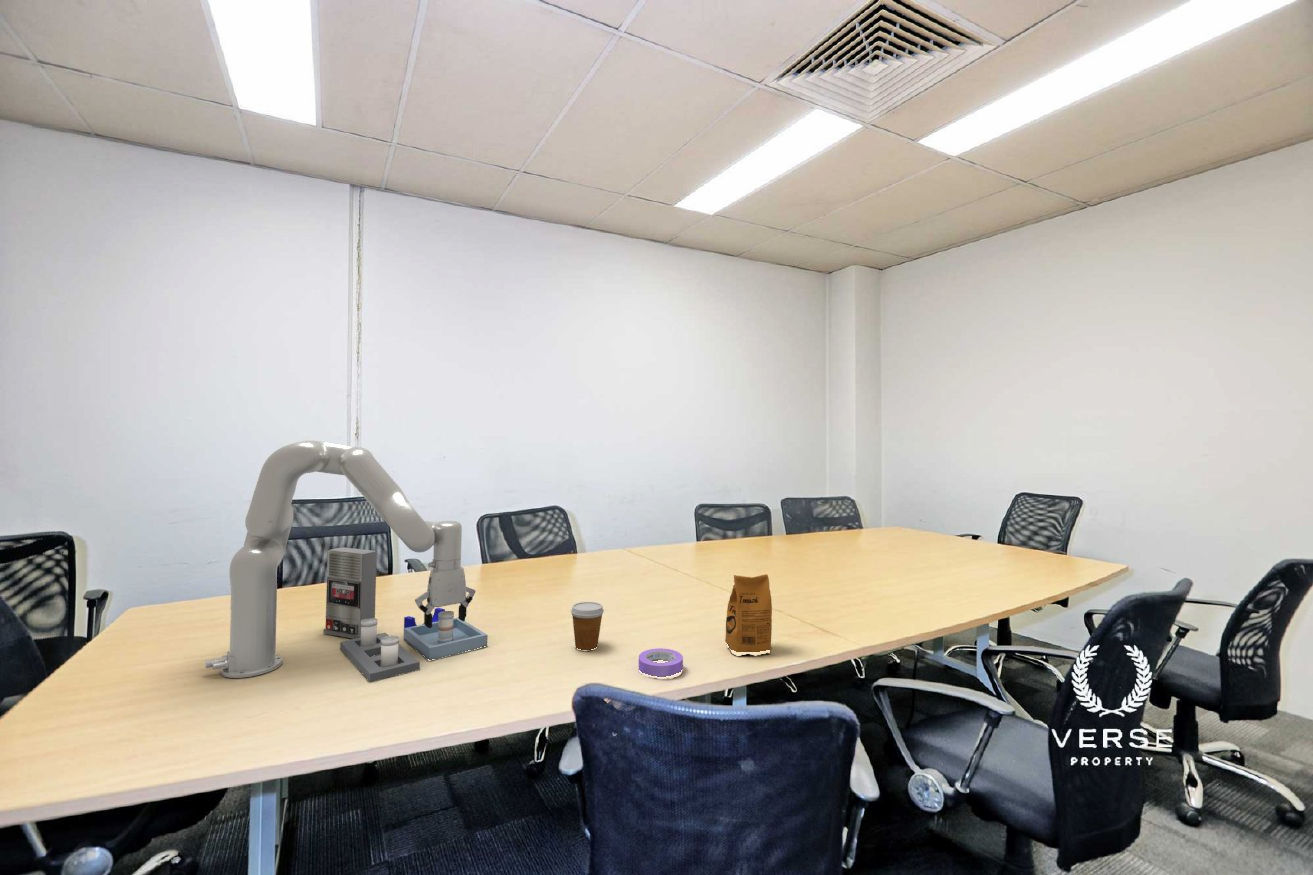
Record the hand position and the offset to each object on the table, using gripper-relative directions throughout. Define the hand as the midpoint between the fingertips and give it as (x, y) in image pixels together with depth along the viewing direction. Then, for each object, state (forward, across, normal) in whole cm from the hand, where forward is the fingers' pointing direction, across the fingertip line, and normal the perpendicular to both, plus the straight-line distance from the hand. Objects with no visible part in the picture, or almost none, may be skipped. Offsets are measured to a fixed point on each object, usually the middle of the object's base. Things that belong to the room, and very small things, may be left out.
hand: (445, 623), depth 162 cm
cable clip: (+6, -1, +14) cm, 15 cm away
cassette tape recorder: (+6, -19, +25) cm, 32 cm away
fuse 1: (+6, -18, +9) cm, 21 cm away
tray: (+6, 0, 0) cm, 6 cm away
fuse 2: (+6, -18, -9) cm, 21 cm away
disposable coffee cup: (+6, +30, -28) cm, 41 cm away
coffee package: (+6, +65, -59) cm, 88 cm away
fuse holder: (+6, -18, 0) cm, 19 cm away
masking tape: (+6, +36, -53) cm, 64 cm away
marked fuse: (+5, 0, 0) cm, 5 cm away
